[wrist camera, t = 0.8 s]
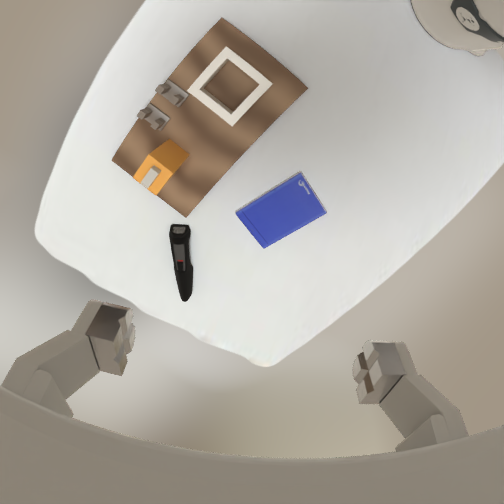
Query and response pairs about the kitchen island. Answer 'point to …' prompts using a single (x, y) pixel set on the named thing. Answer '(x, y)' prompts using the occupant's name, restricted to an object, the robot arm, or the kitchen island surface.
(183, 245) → the electric trimmer
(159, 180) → the connector plug
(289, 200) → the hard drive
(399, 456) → the robot arm
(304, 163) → the kitchen island surface
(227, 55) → the end holder
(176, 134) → the board
